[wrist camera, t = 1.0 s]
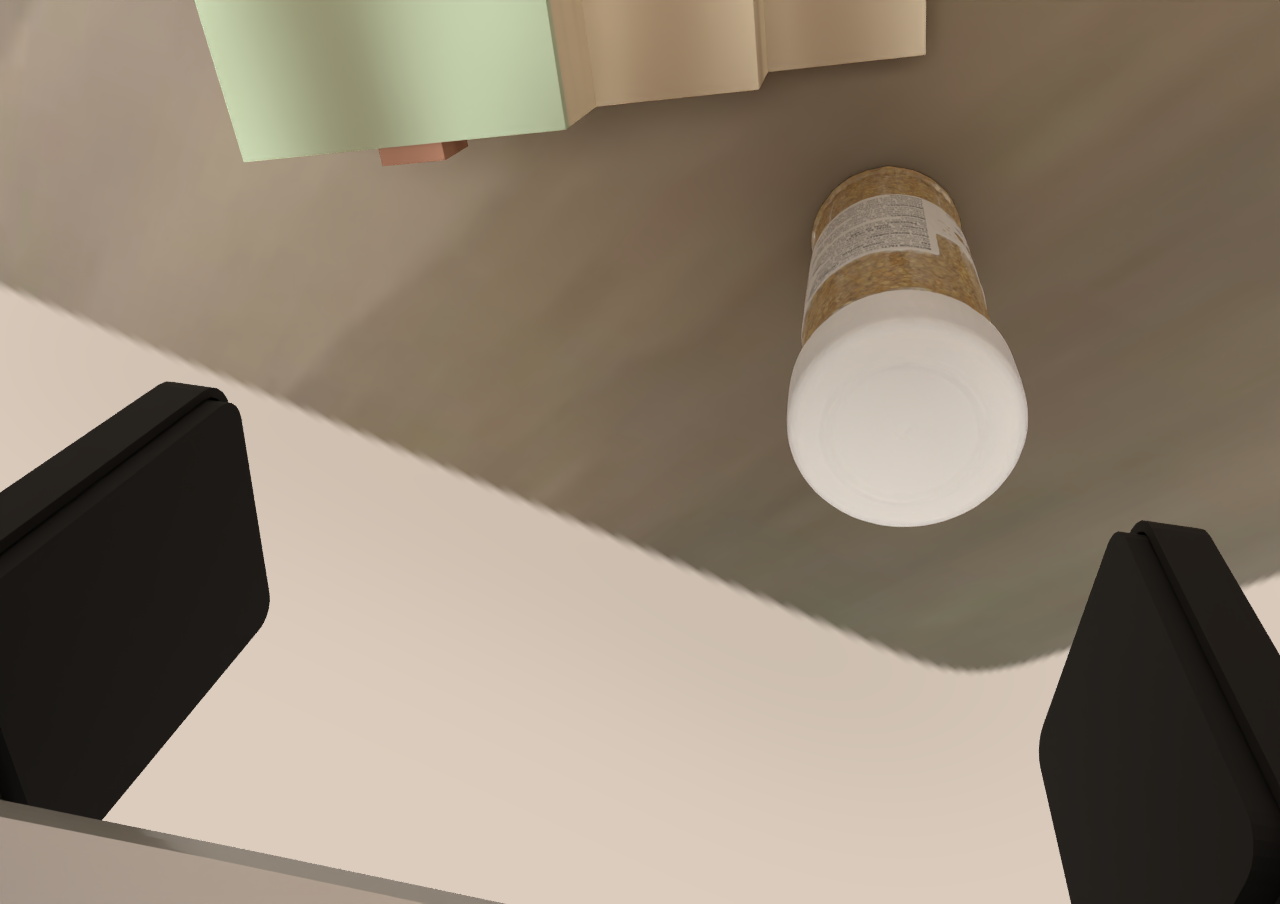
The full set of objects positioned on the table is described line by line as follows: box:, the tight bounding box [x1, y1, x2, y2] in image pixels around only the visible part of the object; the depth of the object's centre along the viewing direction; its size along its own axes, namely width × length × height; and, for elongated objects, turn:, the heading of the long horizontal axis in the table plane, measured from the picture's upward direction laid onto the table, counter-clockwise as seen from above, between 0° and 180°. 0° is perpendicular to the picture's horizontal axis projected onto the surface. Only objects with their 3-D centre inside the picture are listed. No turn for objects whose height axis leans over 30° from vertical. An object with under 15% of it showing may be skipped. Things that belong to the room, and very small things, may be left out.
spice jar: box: [787, 166, 1028, 527], centre depth 24 cm, size 5×5×14 cm
